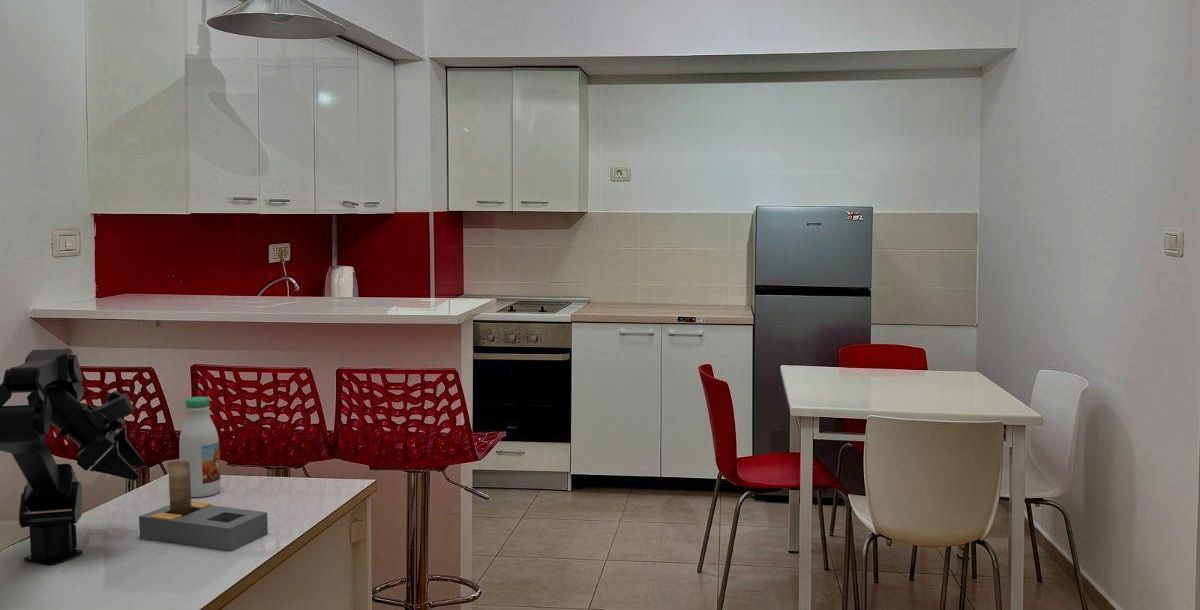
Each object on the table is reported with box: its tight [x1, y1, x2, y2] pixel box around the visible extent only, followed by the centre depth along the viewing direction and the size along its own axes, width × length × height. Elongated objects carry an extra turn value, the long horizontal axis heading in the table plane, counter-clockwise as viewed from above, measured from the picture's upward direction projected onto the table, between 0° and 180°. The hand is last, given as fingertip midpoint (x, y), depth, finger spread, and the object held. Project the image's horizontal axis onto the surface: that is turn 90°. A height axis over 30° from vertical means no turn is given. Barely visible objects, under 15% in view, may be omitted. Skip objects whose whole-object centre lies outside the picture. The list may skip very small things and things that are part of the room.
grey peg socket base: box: [138, 500, 269, 552], centre depth 185 cm, size 20×10×4 cm, turn 70°
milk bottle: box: [178, 396, 222, 498], centre depth 212 cm, size 8×8×20 cm
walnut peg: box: [167, 460, 192, 517], centre depth 187 cm, size 4×4×13 cm
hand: (139, 471), depth 184 cm, fingers open, 9 cm apart
